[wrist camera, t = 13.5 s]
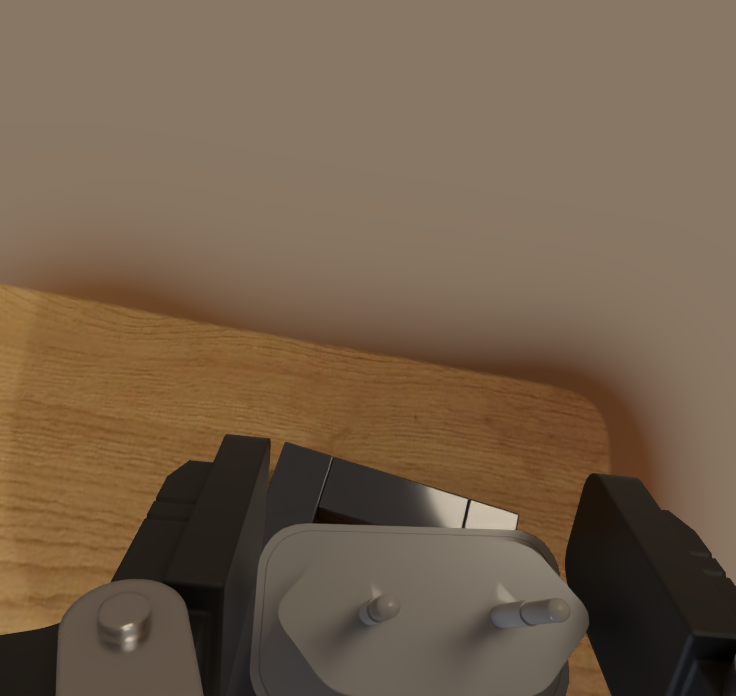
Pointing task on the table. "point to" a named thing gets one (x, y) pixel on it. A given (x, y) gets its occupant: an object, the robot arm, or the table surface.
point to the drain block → (351, 514)
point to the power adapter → (411, 613)
